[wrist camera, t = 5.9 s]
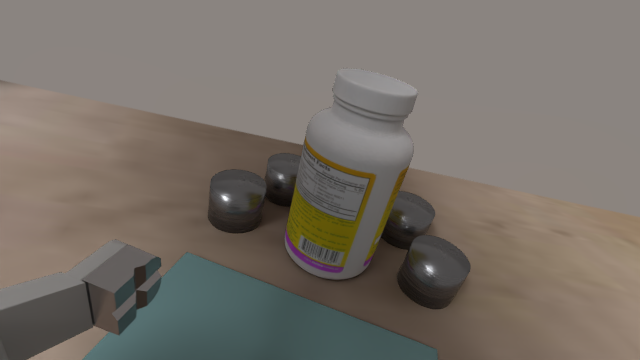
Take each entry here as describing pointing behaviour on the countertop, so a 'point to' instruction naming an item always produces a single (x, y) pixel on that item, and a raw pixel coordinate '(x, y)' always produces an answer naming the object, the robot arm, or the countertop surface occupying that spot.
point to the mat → (245, 324)
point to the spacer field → (400, 230)
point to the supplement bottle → (350, 174)
